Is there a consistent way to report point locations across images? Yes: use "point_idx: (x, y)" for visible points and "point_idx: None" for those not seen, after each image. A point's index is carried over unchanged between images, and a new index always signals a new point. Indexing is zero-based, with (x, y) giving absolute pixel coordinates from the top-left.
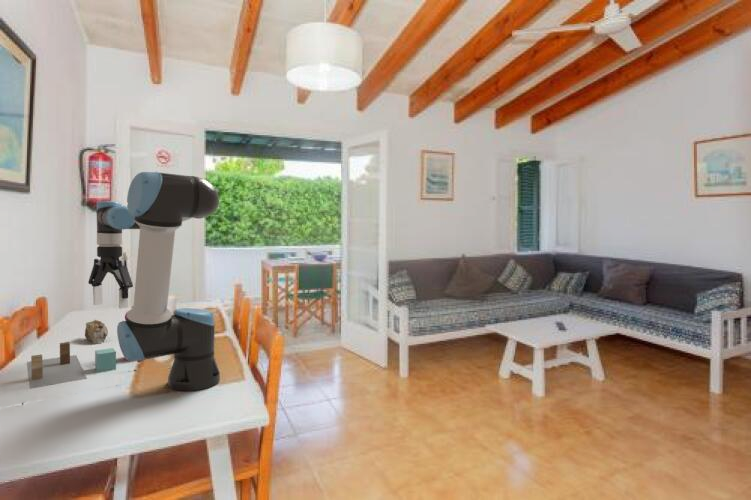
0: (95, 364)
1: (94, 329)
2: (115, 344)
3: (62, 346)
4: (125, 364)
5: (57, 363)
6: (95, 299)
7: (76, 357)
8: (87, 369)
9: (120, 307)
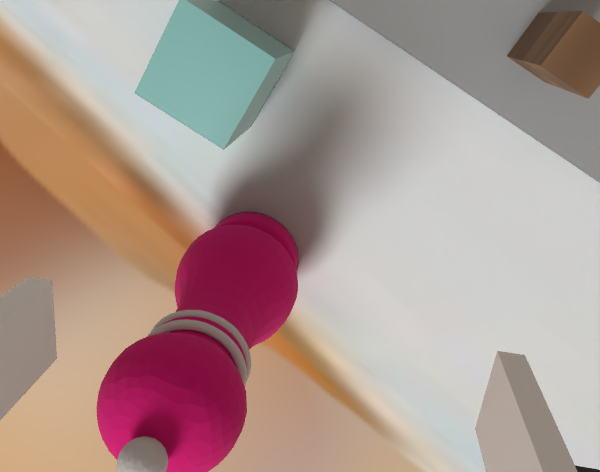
0: (282, 48)
1: None
2: (582, 431)
3: (567, 22)
4: (231, 182)
5: None
6: (510, 401)
7: (574, 160)
8: (343, 41)
9: (20, 283)
